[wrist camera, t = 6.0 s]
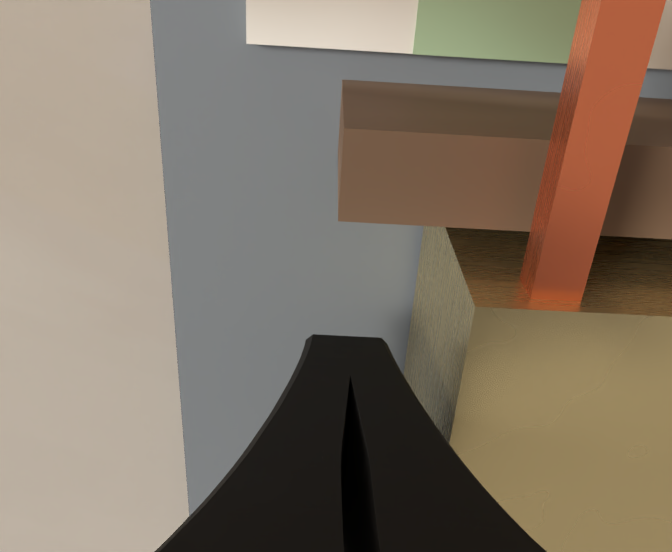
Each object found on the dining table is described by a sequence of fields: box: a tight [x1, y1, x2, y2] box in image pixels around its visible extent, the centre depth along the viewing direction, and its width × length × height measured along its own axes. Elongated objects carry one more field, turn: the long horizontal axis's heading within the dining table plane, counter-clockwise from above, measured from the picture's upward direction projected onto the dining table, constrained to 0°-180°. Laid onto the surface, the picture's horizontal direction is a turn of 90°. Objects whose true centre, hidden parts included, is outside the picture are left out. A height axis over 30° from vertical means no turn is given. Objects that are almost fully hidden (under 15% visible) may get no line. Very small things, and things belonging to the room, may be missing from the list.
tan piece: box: [404, 0, 672, 552], centre depth 9 cm, size 10×4×4 cm, turn 177°
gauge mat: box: [150, 0, 672, 516], centre depth 13 cm, size 16×14×1 cm
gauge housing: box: [246, 0, 672, 239], centre depth 10 cm, size 12×12×4 cm
